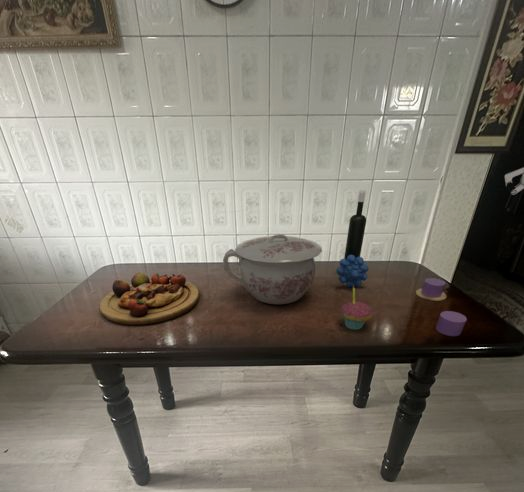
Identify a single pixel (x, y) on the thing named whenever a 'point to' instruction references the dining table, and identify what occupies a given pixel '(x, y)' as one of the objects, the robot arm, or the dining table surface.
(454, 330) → the short purple cylinder
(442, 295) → the coaster
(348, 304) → the cupcake
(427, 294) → the purple cylinder
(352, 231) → the wine bottle
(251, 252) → the chamber pot
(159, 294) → the wooden plate
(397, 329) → the dining table surface
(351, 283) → the grapes
